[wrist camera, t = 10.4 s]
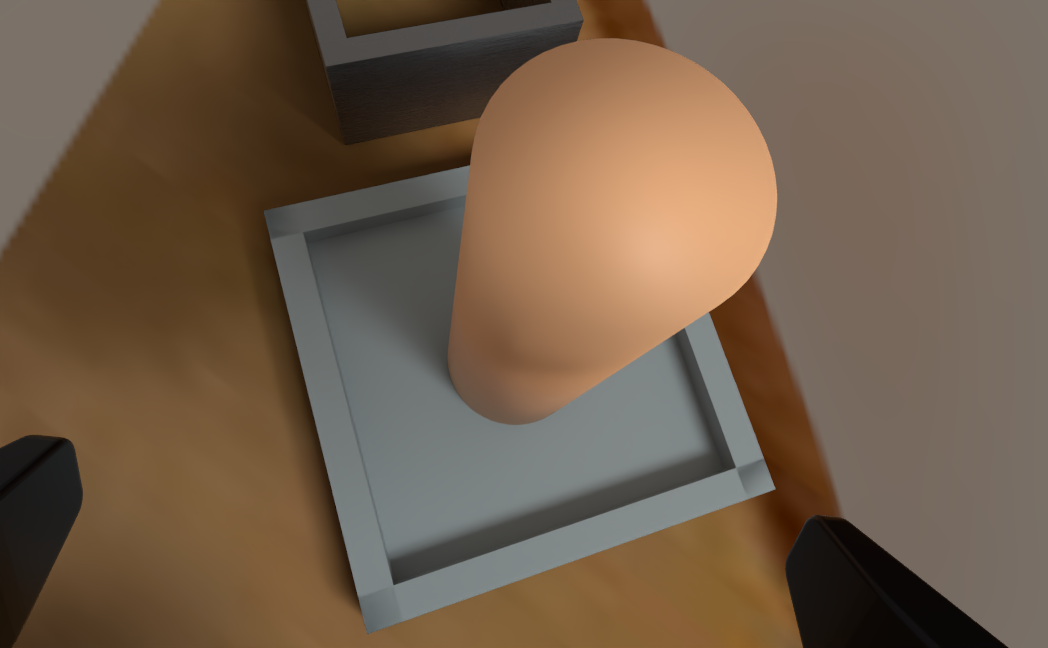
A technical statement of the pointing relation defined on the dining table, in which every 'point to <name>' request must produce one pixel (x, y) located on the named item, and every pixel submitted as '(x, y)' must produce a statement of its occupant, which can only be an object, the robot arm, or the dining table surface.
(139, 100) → the dining table surface
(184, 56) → the dining table surface
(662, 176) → the peg
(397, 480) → the tray
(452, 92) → the square socket holder
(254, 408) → the dining table surface
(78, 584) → the dining table surface
